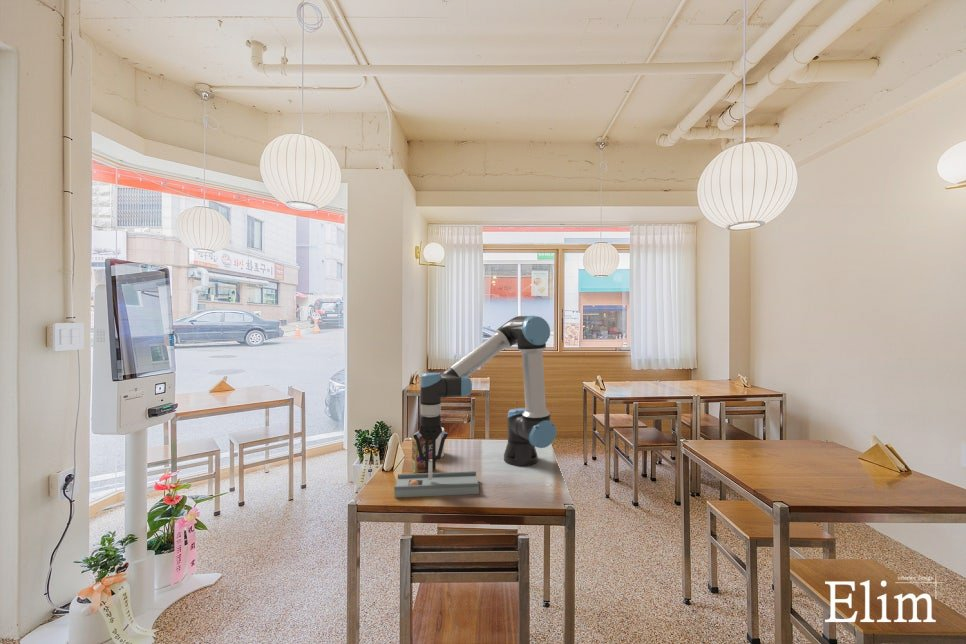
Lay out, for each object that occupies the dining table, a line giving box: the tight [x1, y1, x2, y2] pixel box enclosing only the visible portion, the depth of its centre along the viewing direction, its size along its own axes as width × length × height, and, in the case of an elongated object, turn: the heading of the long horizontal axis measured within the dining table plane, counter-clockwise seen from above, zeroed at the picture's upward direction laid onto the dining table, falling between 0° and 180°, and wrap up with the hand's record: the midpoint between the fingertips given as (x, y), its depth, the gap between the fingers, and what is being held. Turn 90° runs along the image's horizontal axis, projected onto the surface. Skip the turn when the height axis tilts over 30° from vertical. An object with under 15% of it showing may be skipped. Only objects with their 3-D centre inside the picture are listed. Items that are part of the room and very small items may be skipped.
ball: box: [409, 480, 419, 485], centre depth 148 cm, size 4×4×4 cm
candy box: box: [411, 434, 432, 474], centre depth 168 cm, size 9×4×15 cm, turn 123°
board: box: [393, 470, 480, 499], centre depth 149 cm, size 30×12×4 cm, turn 96°
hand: (430, 478), depth 149 cm, fingers closed
